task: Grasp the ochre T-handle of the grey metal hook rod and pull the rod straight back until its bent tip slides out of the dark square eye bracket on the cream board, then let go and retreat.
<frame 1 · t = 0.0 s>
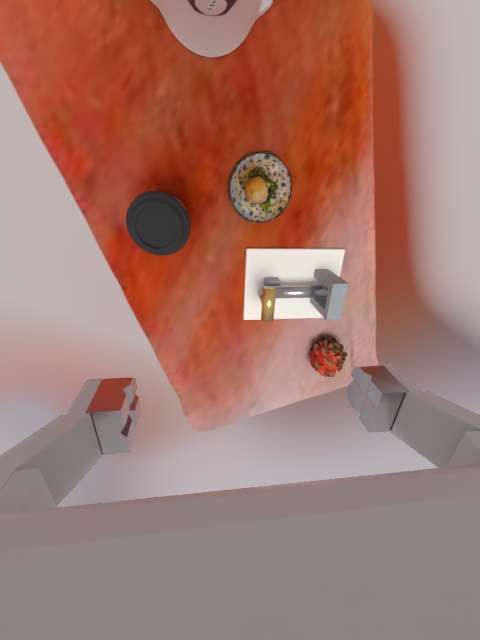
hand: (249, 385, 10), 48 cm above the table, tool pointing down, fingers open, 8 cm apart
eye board: (297, 284, 61), on the table
dragon fruit: (322, 349, 70), on the table
burger: (258, 188, 52), on the table
hook: (304, 295, 55), point 7 cm above the table, slide at 0.0 cm
coffee cup: (168, 215, 51), on the table
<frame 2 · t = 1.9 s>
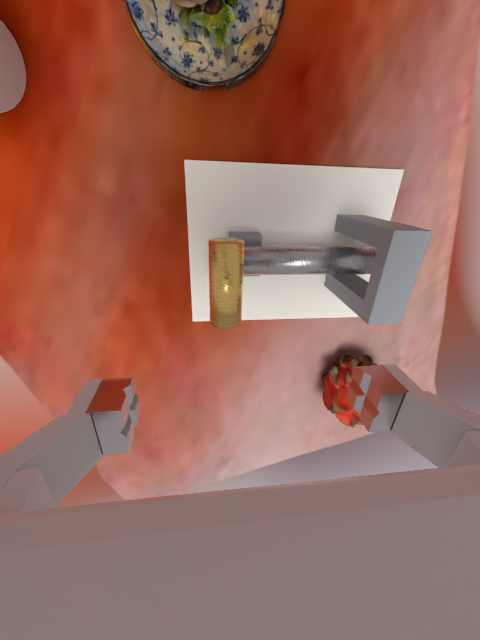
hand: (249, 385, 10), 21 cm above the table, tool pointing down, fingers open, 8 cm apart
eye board: (300, 249, 30), on the table
dragon fruit: (342, 374, 40), on the table
hook: (317, 267, 24), point 7 cm above the table, slide at 0.0 cm
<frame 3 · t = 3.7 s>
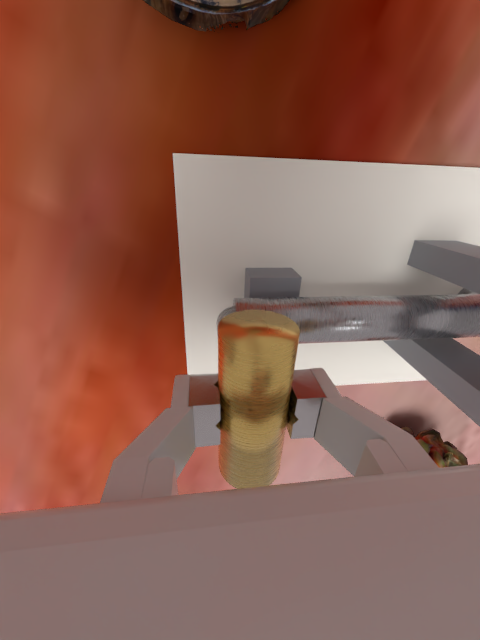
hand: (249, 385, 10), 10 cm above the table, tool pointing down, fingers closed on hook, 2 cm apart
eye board: (350, 290, 20), on the table
dragon fruit: (392, 445, 29), on the table
hook: (402, 337, 14), point 7 cm above the table, slide at 0.0 cm, touching gripper
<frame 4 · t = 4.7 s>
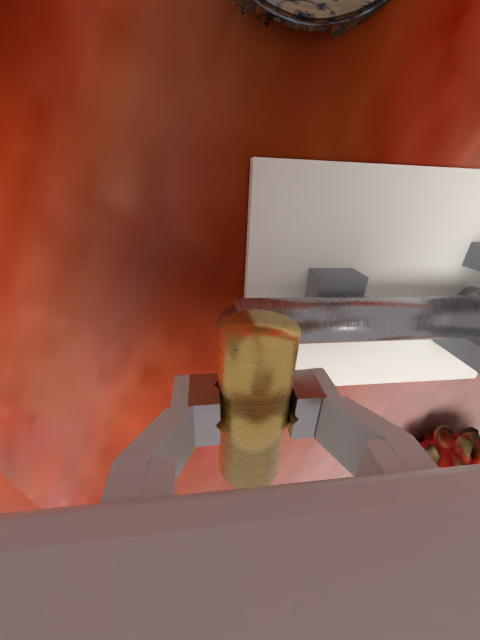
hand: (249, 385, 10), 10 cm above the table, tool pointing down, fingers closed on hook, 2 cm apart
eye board: (402, 290, 20), on the table
dragon fruit: (426, 443, 30), on the table
hook: (402, 338, 14), point 7 cm above the table, slide at 4.1 cm, touching gripper
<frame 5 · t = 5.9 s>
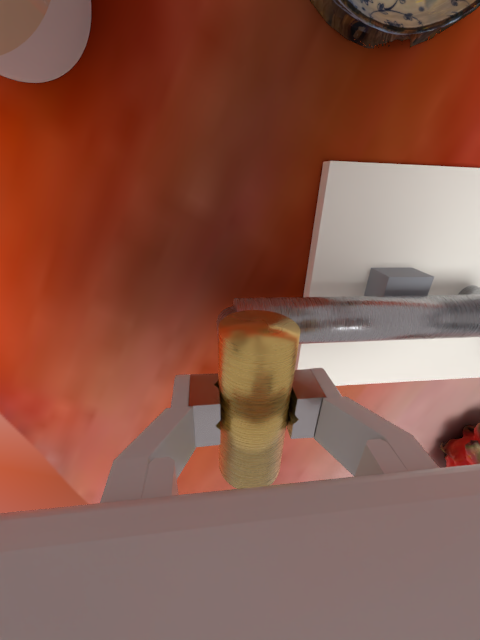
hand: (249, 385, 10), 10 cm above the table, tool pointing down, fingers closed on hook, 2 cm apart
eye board: (454, 289, 21), on the table
dragon fruit: (462, 439, 30), on the table
hook: (402, 337, 14), point 7 cm above the table, slide at 8.4 cm, touching gripper
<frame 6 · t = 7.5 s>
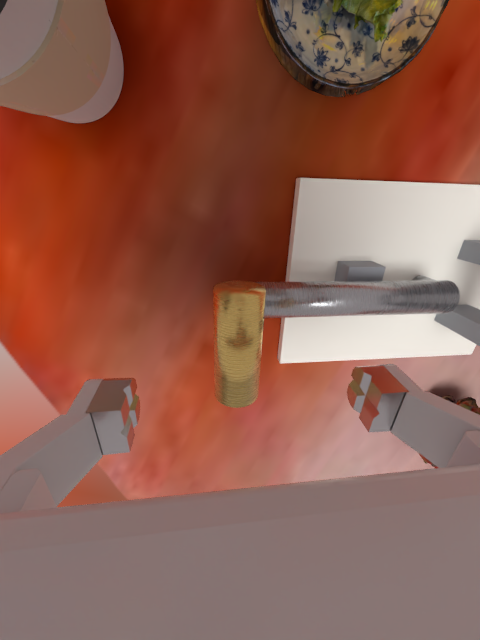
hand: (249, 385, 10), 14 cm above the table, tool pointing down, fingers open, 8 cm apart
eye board: (410, 279, 25), on the table
dragon fruit: (431, 416, 35), on the table
hook: (354, 310, 18), point 7 cm above the table, slide at 8.5 cm
coffee cup: (63, 55, 16), on the table
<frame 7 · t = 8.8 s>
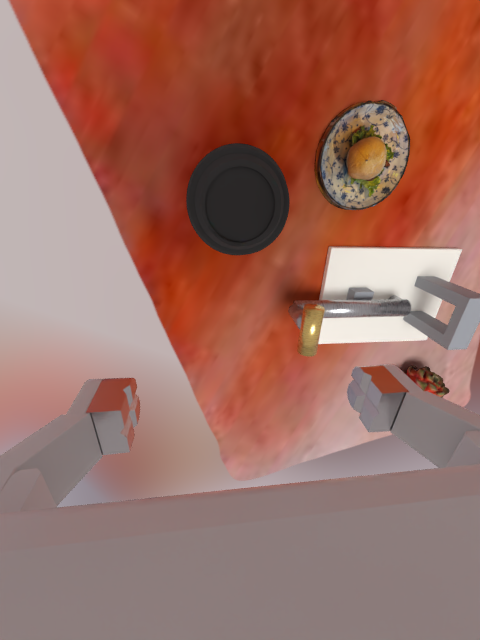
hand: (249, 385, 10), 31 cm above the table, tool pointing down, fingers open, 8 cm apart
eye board: (389, 296, 45), on the table
dragon fruit: (404, 380, 54), on the table
burger: (357, 160, 36), on the table
hook: (358, 315, 38), point 7 cm above the table, slide at 8.5 cm
coffee cup: (226, 197, 35), on the table
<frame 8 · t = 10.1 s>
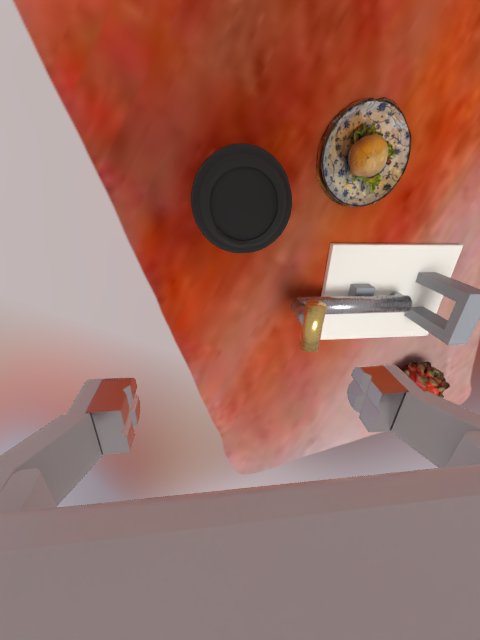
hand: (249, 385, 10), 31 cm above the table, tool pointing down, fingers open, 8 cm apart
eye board: (390, 292, 45), on the table
dragon fruit: (405, 375, 55), on the table
burger: (358, 157, 36), on the table
hook: (359, 311, 38), point 7 cm above the table, slide at 8.5 cm
coffee cup: (229, 195, 36), on the table
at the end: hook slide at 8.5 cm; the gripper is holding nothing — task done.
